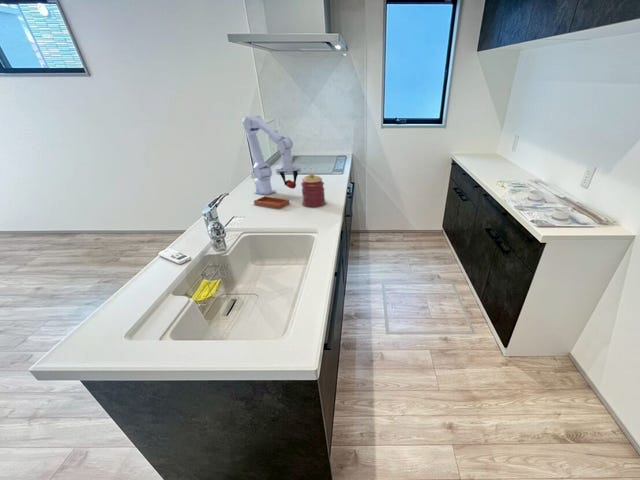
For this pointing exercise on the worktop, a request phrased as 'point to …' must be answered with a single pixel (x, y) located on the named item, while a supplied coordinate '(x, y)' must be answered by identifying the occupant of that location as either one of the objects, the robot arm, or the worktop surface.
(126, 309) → the worktop surface
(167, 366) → the worktop surface
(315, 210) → the worktop surface
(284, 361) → the worktop surface
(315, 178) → the kitchen canister
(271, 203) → the tray
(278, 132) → the robot arm
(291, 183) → the vegetable
